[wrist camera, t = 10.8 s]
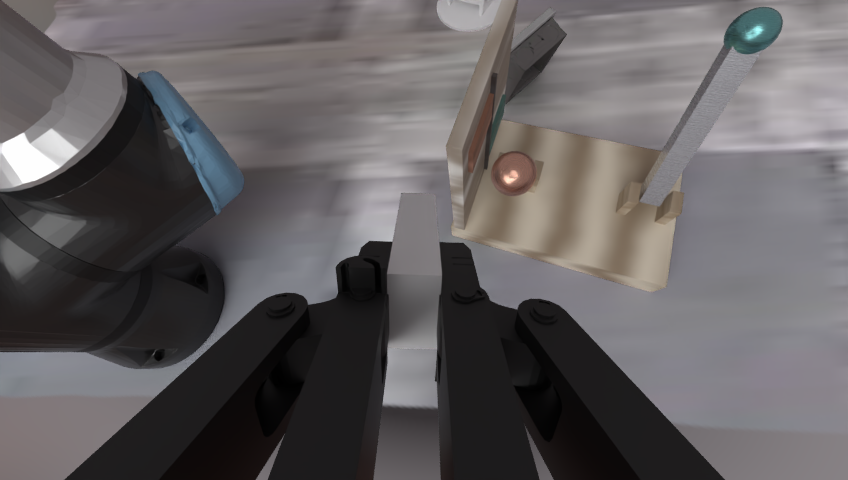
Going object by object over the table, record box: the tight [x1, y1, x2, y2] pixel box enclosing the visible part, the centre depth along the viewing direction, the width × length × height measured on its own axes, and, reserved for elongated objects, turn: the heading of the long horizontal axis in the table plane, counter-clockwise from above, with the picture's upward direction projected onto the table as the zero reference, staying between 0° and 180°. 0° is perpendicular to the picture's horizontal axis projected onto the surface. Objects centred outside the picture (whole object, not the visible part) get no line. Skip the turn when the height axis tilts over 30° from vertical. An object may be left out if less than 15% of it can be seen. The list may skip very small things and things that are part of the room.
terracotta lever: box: [491, 151, 537, 197], centre depth 30 cm, size 3×3×17 cm
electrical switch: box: [505, 7, 567, 104], centre depth 44 cm, size 9×5×9 cm, turn 133°
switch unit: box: [446, 0, 684, 292], centre depth 33 cm, size 23×16×19 cm
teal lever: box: [639, 7, 783, 207], centre depth 30 cm, size 3×3×17 cm
